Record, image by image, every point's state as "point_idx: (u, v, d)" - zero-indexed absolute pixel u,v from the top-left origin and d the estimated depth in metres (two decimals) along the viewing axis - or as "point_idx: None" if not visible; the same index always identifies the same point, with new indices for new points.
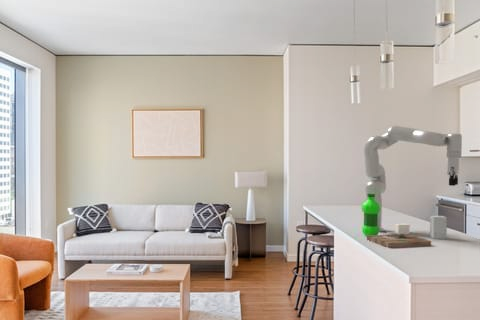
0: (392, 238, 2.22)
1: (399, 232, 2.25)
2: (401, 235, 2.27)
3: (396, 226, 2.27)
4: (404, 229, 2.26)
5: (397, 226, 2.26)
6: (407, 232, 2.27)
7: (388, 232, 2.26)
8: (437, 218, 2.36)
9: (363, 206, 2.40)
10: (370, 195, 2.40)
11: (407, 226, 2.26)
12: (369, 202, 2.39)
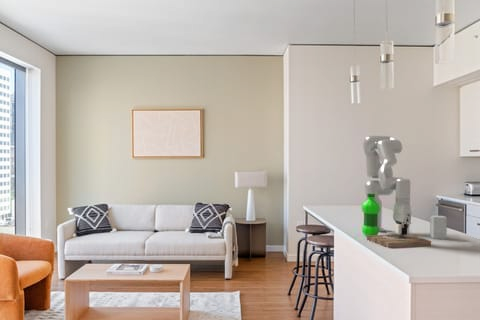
0: (392, 238, 2.22)
1: (399, 232, 2.25)
2: (401, 235, 2.27)
3: (396, 226, 2.27)
4: None
5: (397, 226, 2.26)
6: (407, 232, 2.27)
7: (388, 232, 2.26)
8: (437, 218, 2.36)
9: (363, 206, 2.40)
10: (370, 195, 2.40)
11: None
12: (369, 202, 2.39)
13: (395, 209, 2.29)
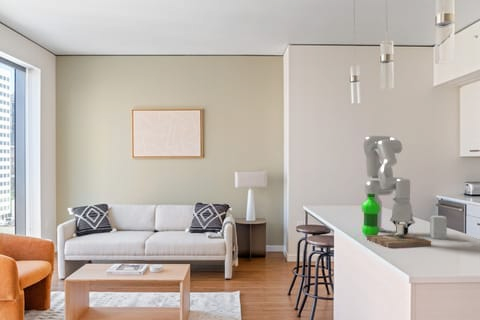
0: (392, 238, 2.22)
1: (402, 232, 2.24)
2: (402, 235, 2.26)
3: (399, 227, 2.25)
4: None
5: (400, 226, 2.24)
6: None
7: None
8: (437, 218, 2.36)
9: (363, 206, 2.40)
10: (370, 195, 2.39)
11: None
12: (369, 202, 2.39)
13: (396, 210, 2.27)
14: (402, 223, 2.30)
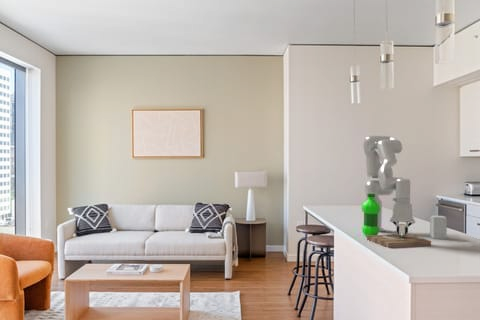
0: (392, 238, 2.22)
1: (404, 232, 2.24)
2: (403, 235, 2.26)
3: (401, 227, 2.24)
4: None
5: (403, 227, 2.24)
6: None
7: (400, 234, 2.20)
8: (437, 218, 2.36)
9: (363, 206, 2.40)
10: (370, 195, 2.40)
11: None
12: (369, 202, 2.39)
13: (397, 210, 2.26)
14: (400, 223, 2.30)
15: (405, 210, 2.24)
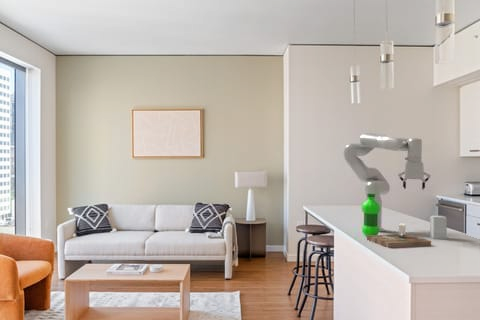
0: (392, 238, 2.22)
1: (404, 232, 2.24)
2: (403, 235, 2.26)
3: (401, 227, 2.24)
4: None
5: (403, 227, 2.24)
6: None
7: (400, 234, 2.20)
8: (437, 218, 2.36)
9: (363, 206, 2.40)
10: (370, 195, 2.40)
11: None
12: (369, 202, 2.39)
13: (409, 168, 2.38)
14: (400, 223, 2.30)
15: (417, 168, 2.36)
